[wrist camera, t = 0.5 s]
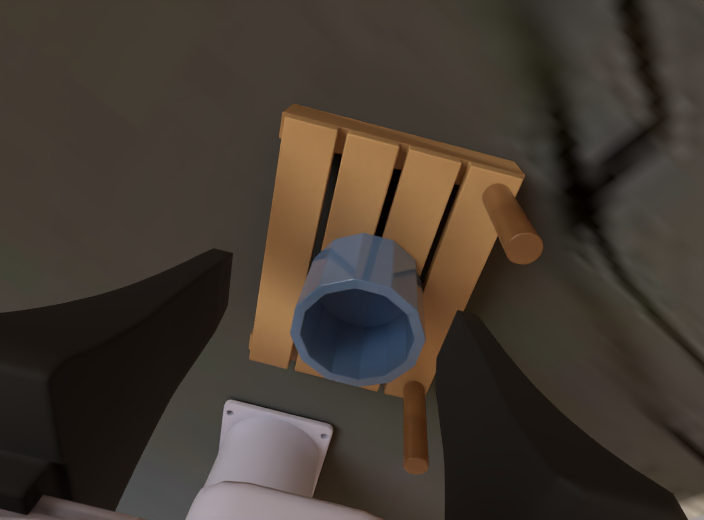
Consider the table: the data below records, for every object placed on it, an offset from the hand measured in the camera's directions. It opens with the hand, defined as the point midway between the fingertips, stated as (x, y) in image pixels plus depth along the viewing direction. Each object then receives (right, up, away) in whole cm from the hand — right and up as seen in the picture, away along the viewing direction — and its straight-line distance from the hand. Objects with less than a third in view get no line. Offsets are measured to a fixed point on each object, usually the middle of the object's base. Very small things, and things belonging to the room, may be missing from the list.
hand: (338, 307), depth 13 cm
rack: (+1, +2, +11) cm, 11 cm away
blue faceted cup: (+1, 0, +8) cm, 8 cm away
